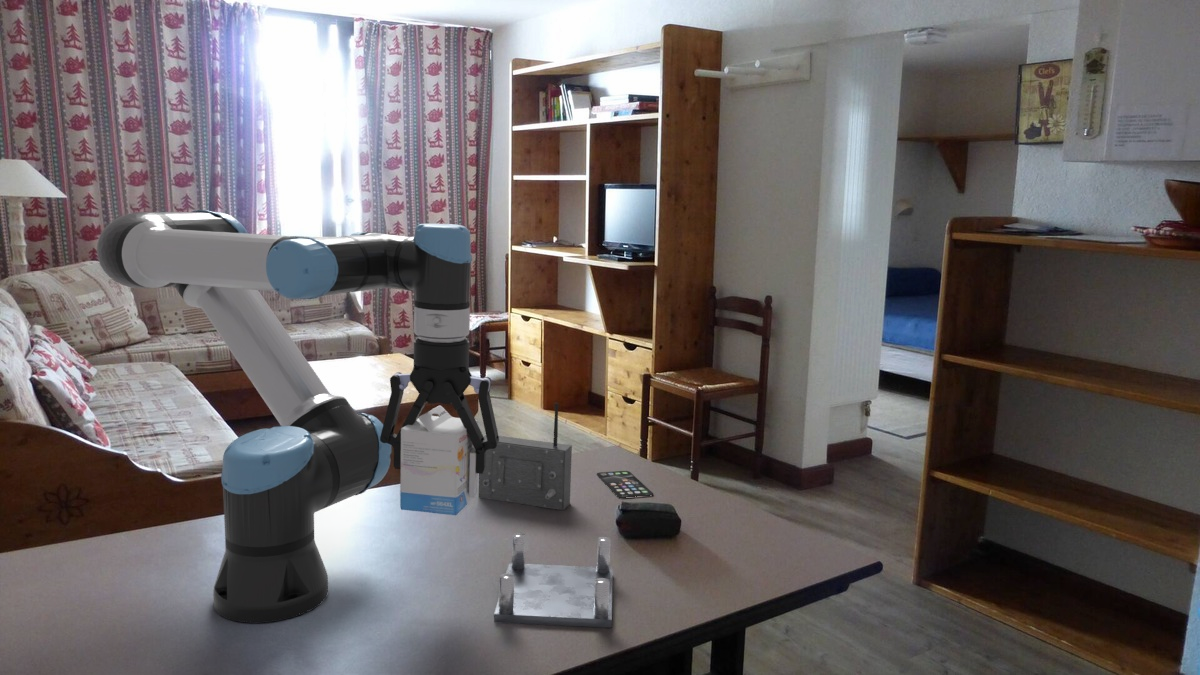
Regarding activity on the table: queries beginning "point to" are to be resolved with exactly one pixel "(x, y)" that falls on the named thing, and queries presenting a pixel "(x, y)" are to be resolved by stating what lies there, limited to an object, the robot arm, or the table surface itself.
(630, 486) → the smartphone
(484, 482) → the electronic device
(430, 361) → the robot arm
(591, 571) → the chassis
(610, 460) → the table surface
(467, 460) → the ink box
